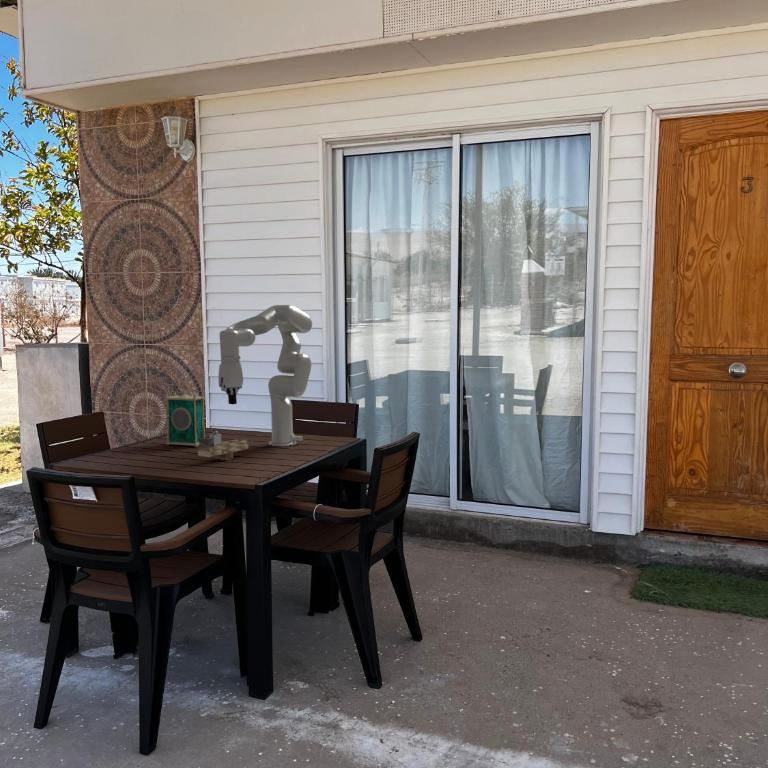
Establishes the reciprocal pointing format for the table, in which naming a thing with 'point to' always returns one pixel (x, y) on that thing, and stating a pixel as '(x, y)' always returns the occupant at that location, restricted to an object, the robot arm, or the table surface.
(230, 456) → the beam
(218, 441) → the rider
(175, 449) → the table surface
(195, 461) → the table surface
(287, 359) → the robot arm
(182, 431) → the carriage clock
